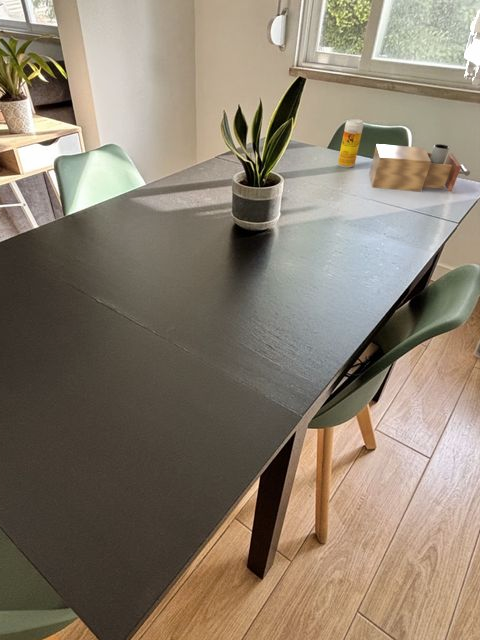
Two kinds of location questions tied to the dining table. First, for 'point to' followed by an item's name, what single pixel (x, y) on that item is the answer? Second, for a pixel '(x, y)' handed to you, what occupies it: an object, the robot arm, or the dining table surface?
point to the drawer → (444, 173)
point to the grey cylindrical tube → (439, 154)
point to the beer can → (350, 143)
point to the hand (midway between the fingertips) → (470, 82)
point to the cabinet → (399, 167)
